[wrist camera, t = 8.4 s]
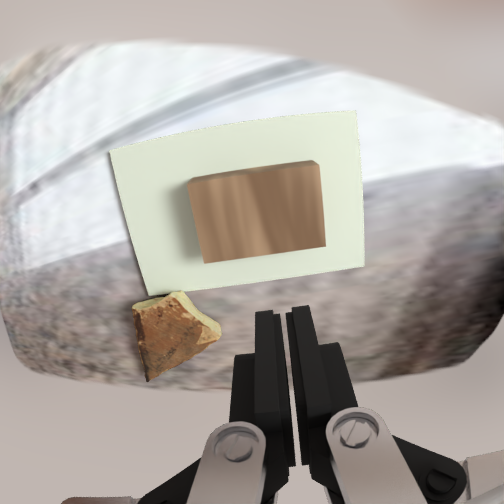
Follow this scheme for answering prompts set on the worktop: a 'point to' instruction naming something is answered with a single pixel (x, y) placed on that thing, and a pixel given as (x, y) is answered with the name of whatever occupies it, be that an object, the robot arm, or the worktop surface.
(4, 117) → the worktop surface
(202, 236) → the walnut slab
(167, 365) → the shard
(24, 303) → the worktop surface
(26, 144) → the worktop surface
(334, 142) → the sage mat
